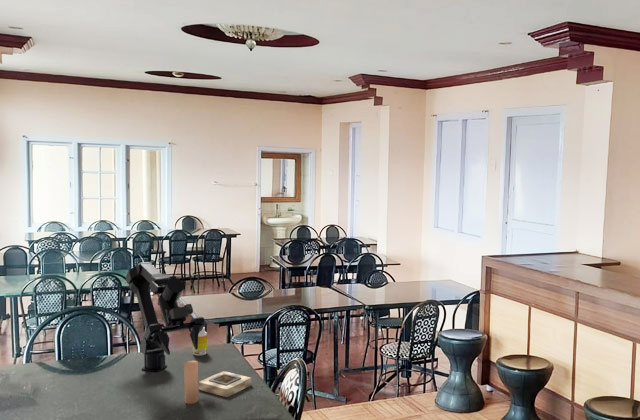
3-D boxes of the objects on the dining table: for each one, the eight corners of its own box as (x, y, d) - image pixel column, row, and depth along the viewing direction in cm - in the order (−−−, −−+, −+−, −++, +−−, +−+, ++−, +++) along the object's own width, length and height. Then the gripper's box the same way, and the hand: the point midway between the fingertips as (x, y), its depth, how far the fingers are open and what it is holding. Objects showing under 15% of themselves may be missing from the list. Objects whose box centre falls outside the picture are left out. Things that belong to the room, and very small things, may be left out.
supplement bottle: (209, 354, 221) (209, 327, 220) (196, 357, 217) (196, 330, 217) (202, 350, 225) (202, 324, 224) (189, 353, 222) (189, 327, 221)
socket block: (198, 389, 185) (198, 381, 185) (223, 378, 195) (223, 370, 195) (227, 397, 179) (227, 388, 179) (251, 385, 189) (251, 376, 189)
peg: (182, 402, 175) (181, 363, 174) (189, 397, 178) (189, 359, 178) (193, 404, 173) (192, 365, 173) (200, 399, 177) (200, 361, 176)
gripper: (147, 299, 179) (160, 344, 171) (203, 292, 190) (218, 334, 182) (139, 318, 186) (151, 361, 179) (194, 310, 197) (207, 351, 189)
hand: (183, 351), depth 182 cm, fingers open, 9 cm apart
